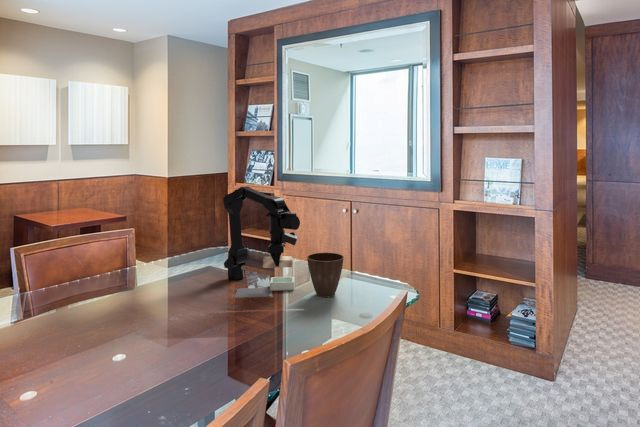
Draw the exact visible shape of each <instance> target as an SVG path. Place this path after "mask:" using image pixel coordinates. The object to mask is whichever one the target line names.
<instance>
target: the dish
mask: <svg viewBox="0 0 640 427" xmlns="http://www.w3.org/2000/svg"><path fill="white" fill-rule="evenodd" d="M269 282H270V283H269V286H270V287H269V288H270V292H272V291H273V292H275V291H278V292H279V291H295V276H276V277H275V276H274V277H272V276H271V277H270V281H269Z"/></svg>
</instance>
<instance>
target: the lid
mask: <svg viewBox="0 0 640 427" xmlns="http://www.w3.org/2000/svg"><path fill="white" fill-rule="evenodd" d="M292 267H293V256H291V255H284V256H283V255H281V256H280V261H279V266H276V265H275V263H274V261H273V259H272V257H271V256H264V257H263V259H262V268H263V269H266V268H267V269H269V268H270V269H271V268H272V269H275V268H276V269H277V268H292Z"/></svg>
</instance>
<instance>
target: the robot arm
mask: <svg viewBox="0 0 640 427" xmlns="http://www.w3.org/2000/svg"><path fill="white" fill-rule="evenodd" d="M247 199H249V200H250V201H253V202H255V203H258V204H259V205H262V206H263V208H264V209H265V210H267V211H268V212H267V213H266V214H265V217H267V218H269V236H270V237H269V238H270V240H269V245H268V247H267V250H268V253H269V255H270V257H272V259H273V261H274V263H275V265H276V266H279V261H280V256H282V254H283V253H284V252H285V247H286V244H287V243H288V244H290V245H291V246H296V244H297V240H298V236H297V235H296V232H294V231H297V230H298V229H299V227H300V225H301V220H300V218H299V217H298V214H297V212H292V211H291V210H290V208H289V207H288V205H287V203H286V201H285V199H284V198H283V197H281V196H275V195H268V194H265V193H263V192H261V191H258V190H255V189H253V188H252V187H250V186H248V185H247V186H240V187H239V188H237V189H236V190H234V191H232V192H230V193H228V194H227V193H226V194H225V195H224V196H223V206H224V209H225V211H226V212H227V213H228V214H227V215H228V221H229V224H228V226H229V233H230V247H229V250H228V253H227V259H226V260H225V261H224V263H223V266H224V268H225V269H227V280H226V281H227V282H231V281H232V282H233V281H235V282H239V281H240V282H241V281H242V280H244V278H245V273H244V272H245V270H244V268H243V267H244V266H246V263H247V261H248V257H249V255H248V254H249V253H248V248H247V247H245V246H244V245H243V239H242V238H243V236H242V223H241V211H242V209H243V207H244V205H243V204H244V201H245V200H247ZM286 230H291V231H290V233H289V232H286ZM292 230H293V231H292Z"/></svg>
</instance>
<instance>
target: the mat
mask: <svg viewBox="0 0 640 427" xmlns="http://www.w3.org/2000/svg"><path fill="white" fill-rule="evenodd" d="M270 294H271V291H270V287H250V288H249V287H246V288H245V287H244V288H243V287H241V288H240V287H239V288H237V290H236V293H235V295H234V297H233V298H235V299H238V298H239V299H241V298H242V299H244V298H269V297H270Z"/></svg>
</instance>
